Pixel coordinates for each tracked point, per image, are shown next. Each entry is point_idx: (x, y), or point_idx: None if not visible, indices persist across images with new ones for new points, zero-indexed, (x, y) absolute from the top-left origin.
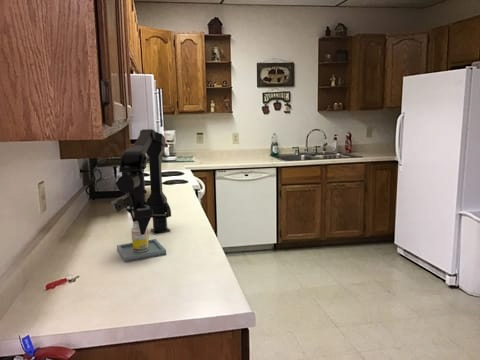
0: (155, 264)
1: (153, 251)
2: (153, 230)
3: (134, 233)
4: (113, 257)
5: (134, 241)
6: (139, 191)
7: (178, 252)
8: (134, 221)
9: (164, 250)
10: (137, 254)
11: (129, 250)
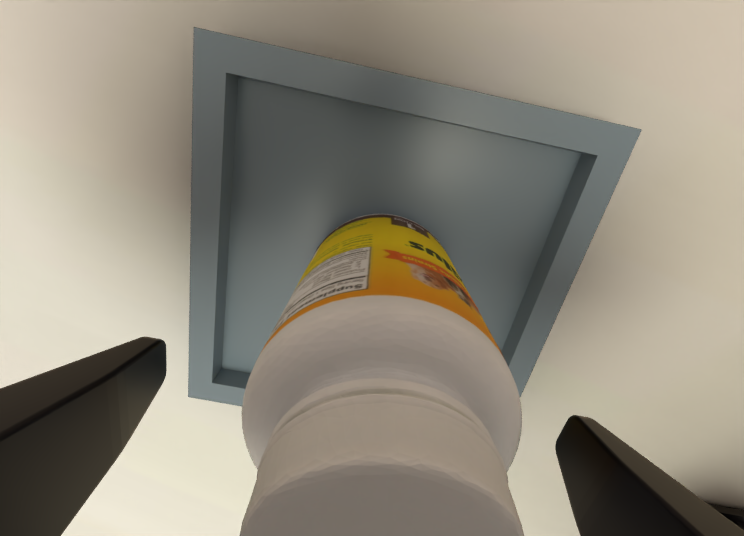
0: (49, 234)
1: (205, 317)
2: (738, 522)
3: (314, 296)
4: (440, 4)
5: (345, 246)
6: None
7: (209, 438)
8: (663, 531)
9: (189, 385)
10: (205, 179)
11: (449, 196)
